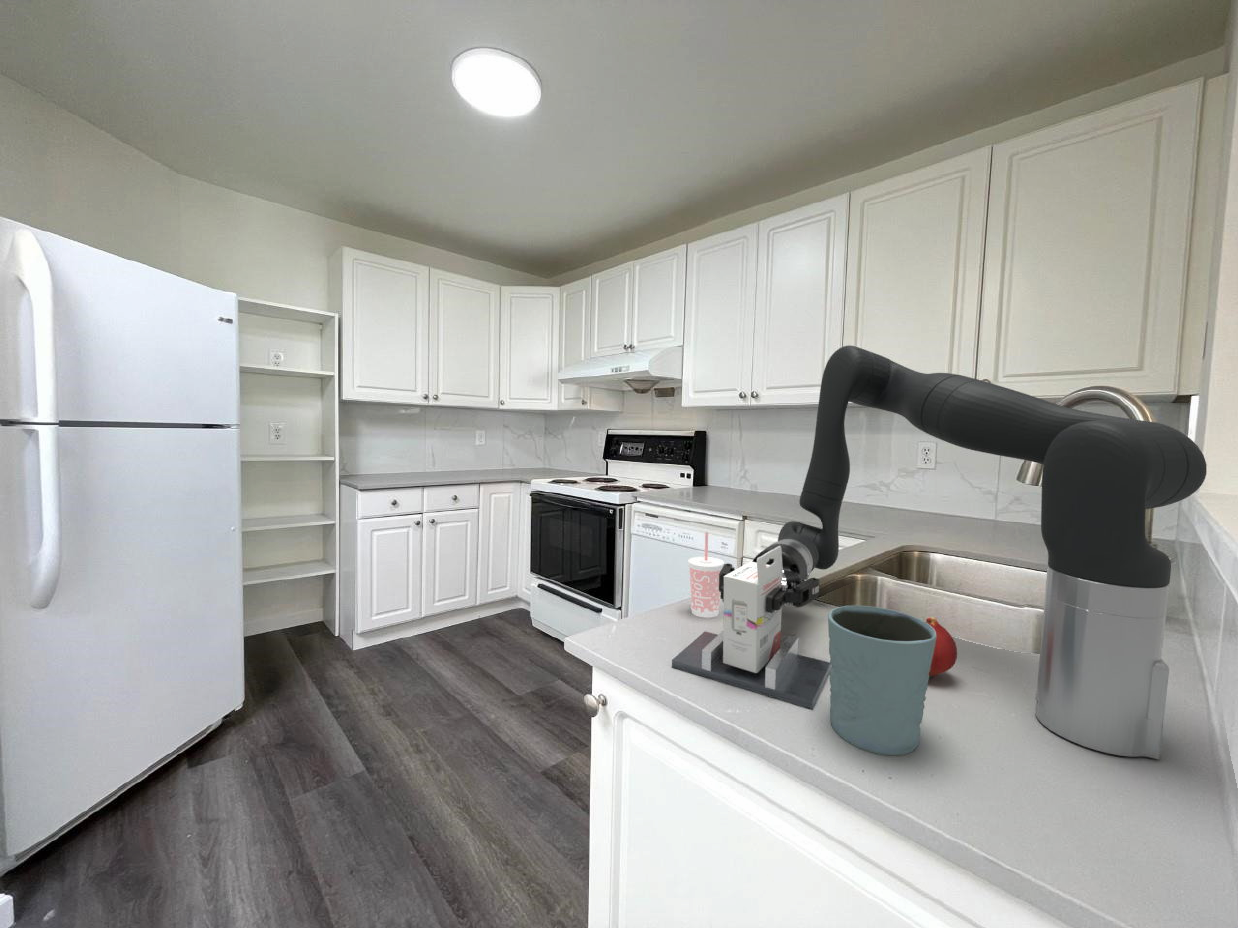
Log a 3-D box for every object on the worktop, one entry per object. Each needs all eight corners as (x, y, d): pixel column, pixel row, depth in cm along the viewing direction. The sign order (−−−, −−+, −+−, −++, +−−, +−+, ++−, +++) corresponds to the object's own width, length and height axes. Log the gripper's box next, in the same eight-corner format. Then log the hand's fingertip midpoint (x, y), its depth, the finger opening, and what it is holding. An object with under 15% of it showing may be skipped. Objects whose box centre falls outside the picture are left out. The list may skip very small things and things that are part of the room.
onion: (906, 660, 70) (909, 604, 70) (956, 673, 67) (960, 614, 66) (900, 678, 66) (904, 618, 65) (954, 692, 62) (958, 629, 61)
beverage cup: (679, 611, 88) (681, 531, 87) (703, 603, 92) (705, 526, 90) (706, 622, 83) (708, 538, 82) (730, 613, 87) (732, 533, 86)
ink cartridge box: (747, 640, 73) (749, 539, 71) (781, 649, 70) (785, 544, 68) (720, 663, 66) (722, 552, 64) (756, 675, 63) (760, 559, 61)
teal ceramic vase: (806, 725, 55) (811, 619, 54) (848, 693, 62) (853, 597, 61) (907, 775, 48) (915, 652, 47) (943, 731, 54) (950, 623, 53)
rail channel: (830, 669, 68) (831, 644, 67) (812, 709, 58) (813, 680, 58) (704, 637, 77) (705, 615, 77) (671, 666, 68) (672, 641, 68)
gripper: (738, 537, 82) (695, 562, 68) (833, 550, 75) (806, 581, 60) (737, 582, 83) (694, 616, 69) (831, 599, 75) (804, 642, 61)
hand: (746, 600), depth 65 cm, fingers closed on ink cartridge box, 5 cm apart
